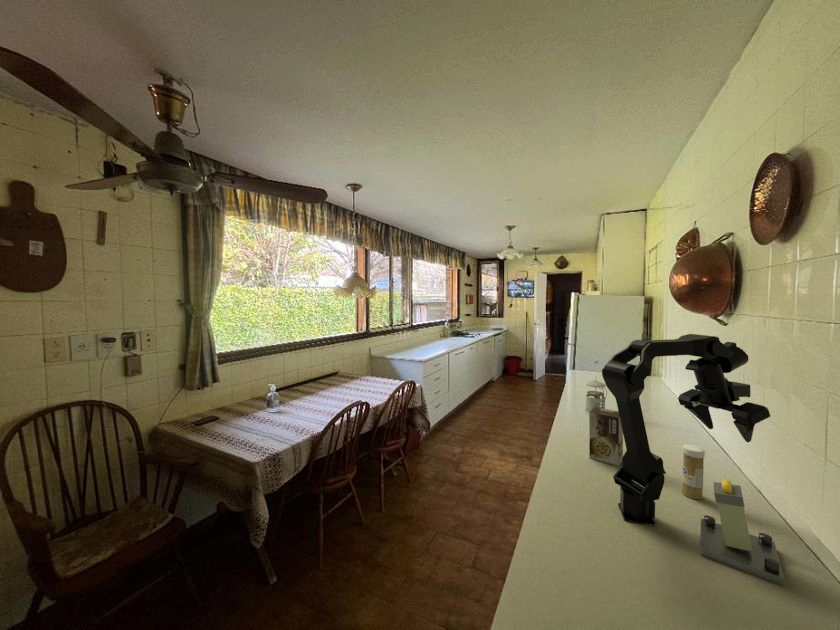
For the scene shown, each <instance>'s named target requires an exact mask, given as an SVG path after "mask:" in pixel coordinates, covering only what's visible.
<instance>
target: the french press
mask: <svg viewBox="0 0 840 630" xmlns="http://www.w3.org/2000/svg"><path fill="white" fill-rule="evenodd" d="M598 363H599V361H598V360H594V361H593V364H598ZM585 385H586V386H588V387H590V388H595V390H588V391H586V393H587V394H586V396H585V402H586V404H585V410H584V411H585V412H586V413H588V414H589V412H590V411H591V410H592V409H593V408H594V407H596V408H602V409H606V399H607V395H608V392H607V386H606V384H605V383H603V382H602V381H598V380H597V377H595V380H590V381H587V382H586V383H585ZM597 389H600V390H601V391H598V390H597ZM604 390H605V391H604ZM604 392H606V393H604ZM605 394H606V395H605Z"/></svg>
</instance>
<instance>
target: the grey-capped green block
mask: <svg viewBox="0 0 840 630" xmlns="http://www.w3.org/2000/svg"><path fill="white" fill-rule="evenodd" d="M713 494H714V499H715V503H717V508H718V513H719V518H720V523H721V524H720V525H722V529H723V534H724V539H725V544H726V546H729V547H734V548H738V549H743V550H747V551H751V552H752V547H751V542H750V536H749V534H750V531H749V527H748V521H747V518H746V513H745V502H744V498H743V497H744V496H743V492H742V486H741V485H740V484H739V485H738V484H733V483H732V482H731V480H729V479H726V478H722V479H721V482H716V481H713Z"/></svg>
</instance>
